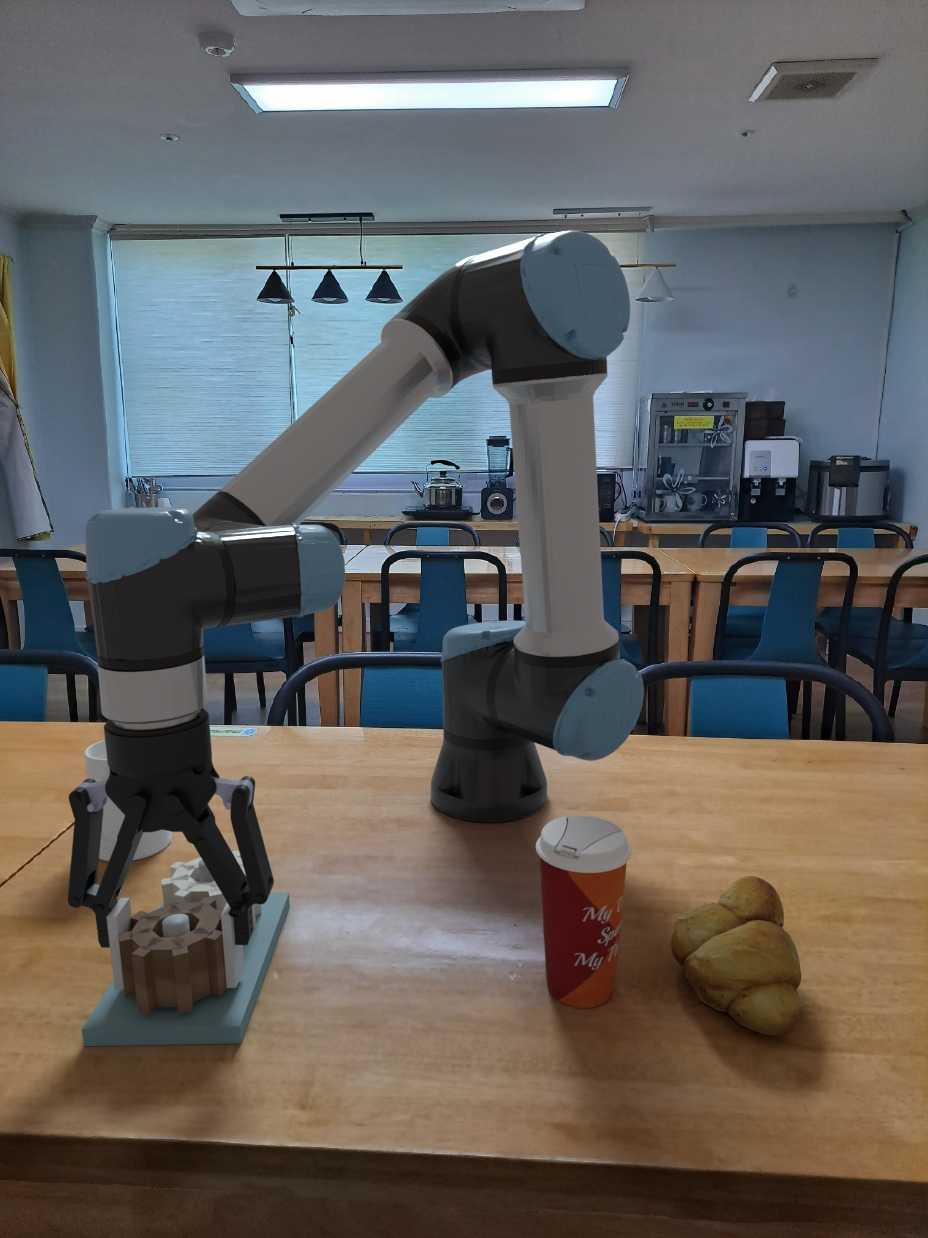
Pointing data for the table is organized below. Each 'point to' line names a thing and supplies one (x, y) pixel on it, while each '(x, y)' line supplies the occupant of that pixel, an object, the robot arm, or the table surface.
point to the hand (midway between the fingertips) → (180, 977)
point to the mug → (118, 811)
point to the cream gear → (196, 885)
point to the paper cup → (582, 906)
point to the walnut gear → (174, 957)
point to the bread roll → (742, 956)
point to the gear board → (210, 1014)
